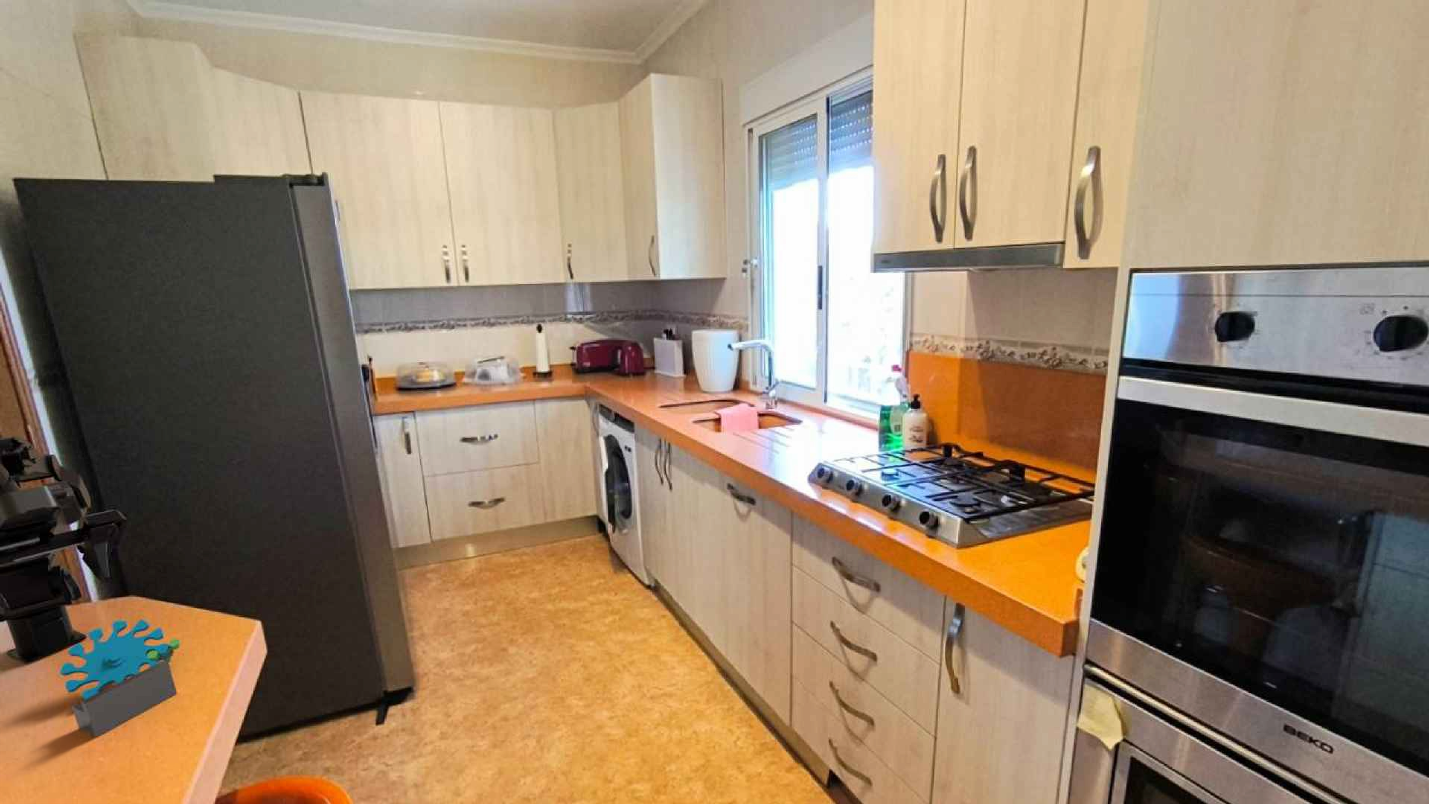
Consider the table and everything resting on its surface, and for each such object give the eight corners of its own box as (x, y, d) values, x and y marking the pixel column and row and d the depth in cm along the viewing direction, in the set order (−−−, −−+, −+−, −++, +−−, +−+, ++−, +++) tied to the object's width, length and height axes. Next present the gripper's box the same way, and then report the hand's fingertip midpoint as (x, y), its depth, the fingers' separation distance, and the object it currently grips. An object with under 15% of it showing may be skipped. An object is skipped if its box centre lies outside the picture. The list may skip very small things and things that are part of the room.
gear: (53, 709, 72) (64, 628, 77) (66, 722, 76) (76, 643, 81) (176, 681, 79) (179, 607, 83) (182, 694, 83) (185, 623, 87)
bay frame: (79, 728, 71) (68, 695, 70) (159, 686, 78) (150, 655, 77) (95, 737, 70) (85, 703, 69) (177, 693, 76) (168, 662, 76)
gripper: (-110, 488, 69) (-47, 583, 66) (104, 453, 86) (163, 527, 83) (-117, 555, 73) (-57, 648, 69) (89, 509, 90) (146, 582, 86)
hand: (59, 595), depth 77 cm, fingers open, 9 cm apart
